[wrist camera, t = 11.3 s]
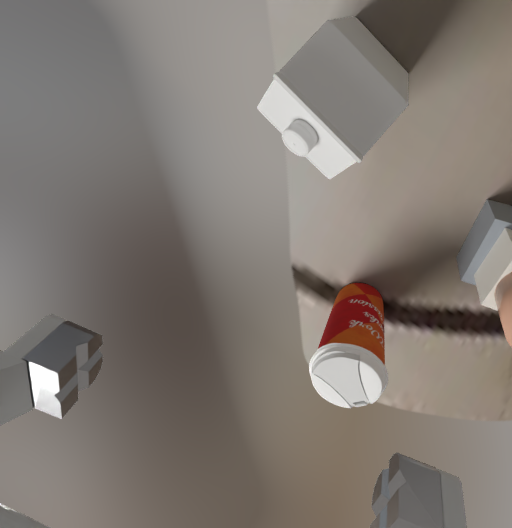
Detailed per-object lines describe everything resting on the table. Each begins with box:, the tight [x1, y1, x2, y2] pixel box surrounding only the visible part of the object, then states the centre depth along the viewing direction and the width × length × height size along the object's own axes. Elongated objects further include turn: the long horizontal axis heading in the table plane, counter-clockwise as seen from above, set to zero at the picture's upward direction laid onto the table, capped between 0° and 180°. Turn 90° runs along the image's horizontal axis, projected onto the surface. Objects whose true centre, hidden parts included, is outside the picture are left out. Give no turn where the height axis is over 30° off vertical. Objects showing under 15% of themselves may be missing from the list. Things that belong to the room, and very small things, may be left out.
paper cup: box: [309, 283, 388, 408], centre depth 47 cm, size 8×8×14 cm
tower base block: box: [456, 199, 512, 285], centre depth 42 cm, size 7×7×5 cm
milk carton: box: [257, 17, 409, 179], centre depth 32 cm, size 7×7×19 cm
